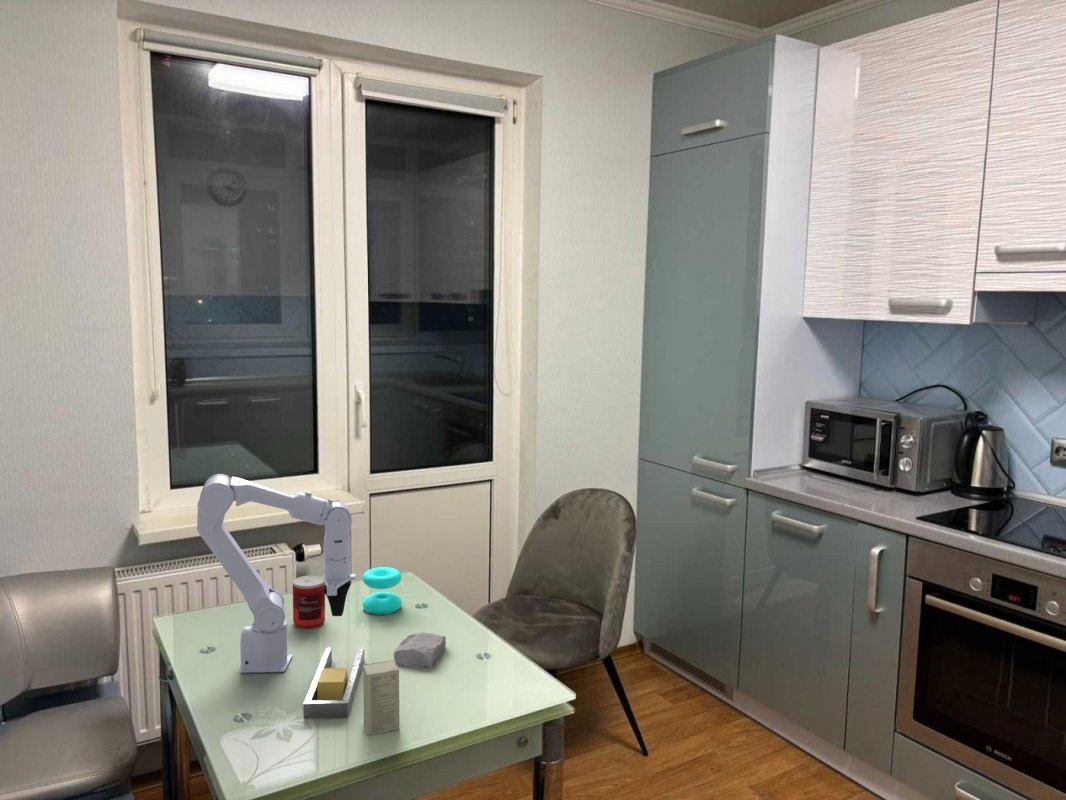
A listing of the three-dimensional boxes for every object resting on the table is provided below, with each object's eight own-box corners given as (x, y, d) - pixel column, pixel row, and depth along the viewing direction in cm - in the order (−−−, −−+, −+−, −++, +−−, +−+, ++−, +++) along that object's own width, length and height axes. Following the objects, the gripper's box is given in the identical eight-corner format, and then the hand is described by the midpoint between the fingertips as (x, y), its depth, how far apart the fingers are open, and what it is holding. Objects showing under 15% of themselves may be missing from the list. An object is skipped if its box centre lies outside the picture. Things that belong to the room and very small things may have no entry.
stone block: (391, 673, 178) (434, 669, 176) (388, 652, 177) (430, 647, 175) (409, 652, 189) (449, 648, 187) (406, 632, 189) (446, 628, 187)
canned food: (311, 614, 204) (310, 573, 203) (332, 622, 200) (331, 580, 198) (286, 623, 198) (285, 581, 197) (307, 632, 194) (306, 588, 192)
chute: (303, 718, 154) (303, 703, 153) (326, 660, 179) (326, 647, 178) (347, 717, 155) (347, 703, 154) (364, 659, 179) (364, 646, 179)
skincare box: (395, 718, 155) (395, 659, 153) (400, 730, 150) (400, 669, 149) (362, 724, 152) (362, 663, 151) (366, 736, 148) (366, 674, 147)
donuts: (355, 576, 204) (372, 564, 214) (356, 613, 206) (372, 599, 215) (392, 580, 202) (407, 567, 212) (392, 618, 203) (407, 603, 213)
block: (317, 703, 159) (317, 682, 159) (323, 689, 165) (322, 668, 165) (343, 703, 160) (342, 681, 159) (347, 688, 166) (347, 668, 165)
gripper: (350, 567, 171) (350, 628, 172) (360, 546, 185) (360, 602, 187) (316, 567, 170) (317, 628, 172) (329, 546, 185) (329, 602, 186)
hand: (337, 615), depth 179 cm, fingers closed
